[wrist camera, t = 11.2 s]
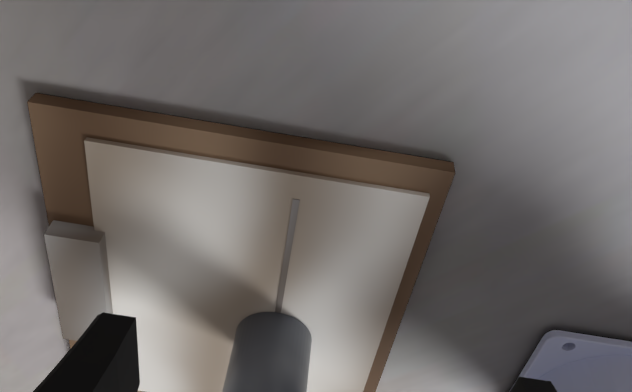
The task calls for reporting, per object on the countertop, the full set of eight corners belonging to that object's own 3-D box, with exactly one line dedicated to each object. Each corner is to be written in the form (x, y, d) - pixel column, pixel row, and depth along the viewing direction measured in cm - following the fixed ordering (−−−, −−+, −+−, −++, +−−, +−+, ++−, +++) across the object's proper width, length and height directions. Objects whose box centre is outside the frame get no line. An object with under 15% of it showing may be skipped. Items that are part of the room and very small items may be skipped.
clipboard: (453, 162, 20) (458, 187, 19) (360, 420, 30) (360, 447, 28) (35, 93, 19) (15, 114, 18) (82, 378, 29) (71, 404, 28)
